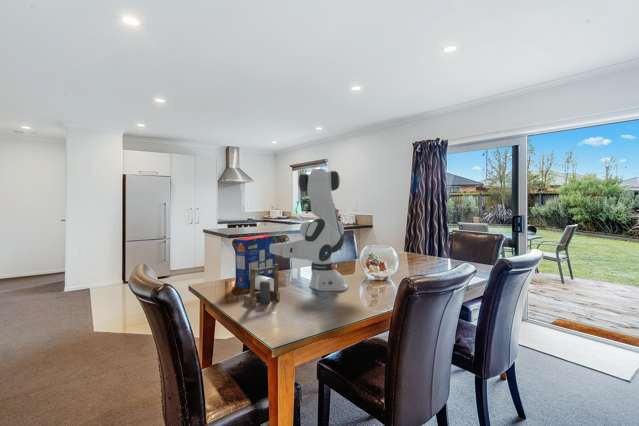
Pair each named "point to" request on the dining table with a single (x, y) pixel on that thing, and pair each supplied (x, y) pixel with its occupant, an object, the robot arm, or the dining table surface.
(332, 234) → the robot arm
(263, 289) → the grey corked bottle
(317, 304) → the dining table surface
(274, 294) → the wooden rack frame
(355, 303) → the dining table surface
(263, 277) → the mug
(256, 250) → the pasta box
